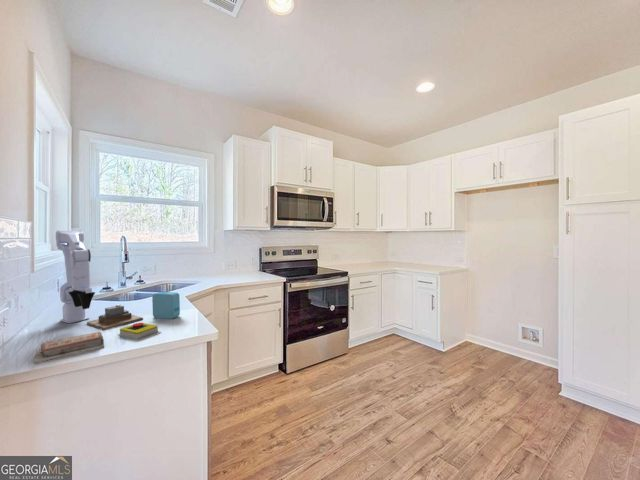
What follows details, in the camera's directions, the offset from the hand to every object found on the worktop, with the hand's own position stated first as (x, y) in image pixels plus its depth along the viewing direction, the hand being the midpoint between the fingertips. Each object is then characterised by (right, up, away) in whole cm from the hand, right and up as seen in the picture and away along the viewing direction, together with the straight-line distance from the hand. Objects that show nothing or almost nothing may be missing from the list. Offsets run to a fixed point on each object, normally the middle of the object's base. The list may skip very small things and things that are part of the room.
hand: (82, 307), depth 122 cm
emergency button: (+30, -10, -8) cm, 33 cm away
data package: (+29, -9, +15) cm, 34 cm away
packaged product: (+17, -10, -24) cm, 31 cm away
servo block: (+9, -8, +8) cm, 14 cm away
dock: (+9, -9, +8) cm, 15 cm away
